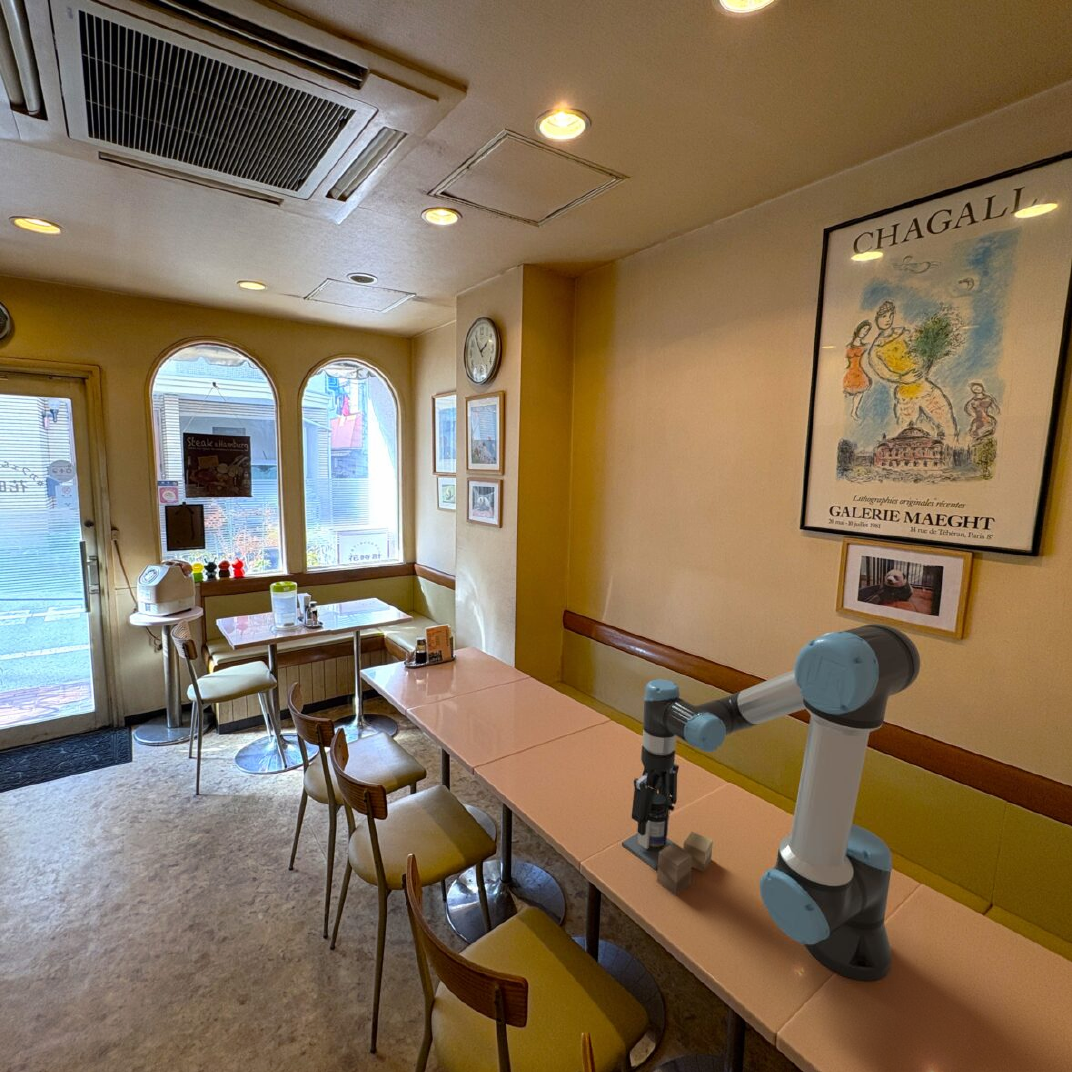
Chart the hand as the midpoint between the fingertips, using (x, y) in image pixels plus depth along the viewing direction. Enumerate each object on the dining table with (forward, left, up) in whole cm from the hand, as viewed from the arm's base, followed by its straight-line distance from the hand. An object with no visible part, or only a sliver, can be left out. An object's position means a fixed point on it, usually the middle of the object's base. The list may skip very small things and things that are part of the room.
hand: (652, 839), depth 133 cm
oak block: (-9, -5, -3) cm, 11 cm away
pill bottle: (0, 0, -1) cm, 1 cm away
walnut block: (-10, +5, -2) cm, 11 cm away
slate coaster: (0, 0, -2) cm, 2 cm away
